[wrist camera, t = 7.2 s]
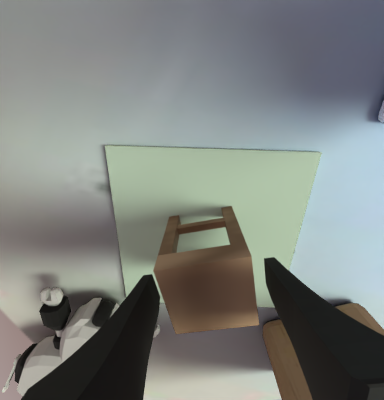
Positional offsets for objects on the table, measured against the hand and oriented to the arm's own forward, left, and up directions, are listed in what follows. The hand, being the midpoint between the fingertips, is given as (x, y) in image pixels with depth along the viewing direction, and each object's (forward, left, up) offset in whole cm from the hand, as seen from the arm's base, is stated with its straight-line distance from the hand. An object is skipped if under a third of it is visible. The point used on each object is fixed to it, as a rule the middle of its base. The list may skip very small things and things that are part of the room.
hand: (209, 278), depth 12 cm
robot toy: (+12, +13, -5) cm, 19 cm away
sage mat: (0, 0, -5) cm, 5 cm away
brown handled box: (0, 0, -4) cm, 4 cm away
